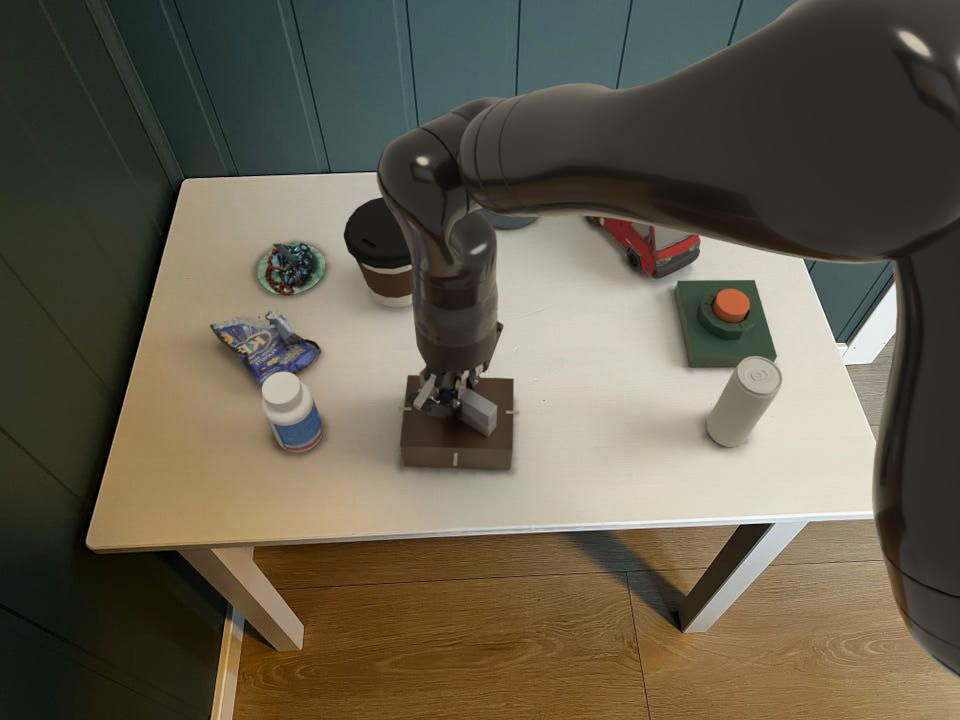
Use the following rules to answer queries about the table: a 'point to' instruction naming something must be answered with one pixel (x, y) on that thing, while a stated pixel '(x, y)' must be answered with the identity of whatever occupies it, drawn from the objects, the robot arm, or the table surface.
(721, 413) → the beverage can
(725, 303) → the button
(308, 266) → the dish
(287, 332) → the snack package
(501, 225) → the grey round pet bowl
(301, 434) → the pill bottle
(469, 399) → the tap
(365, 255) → the coffee cup
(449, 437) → the base
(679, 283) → the green button base
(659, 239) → the toy car
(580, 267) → the table surface
